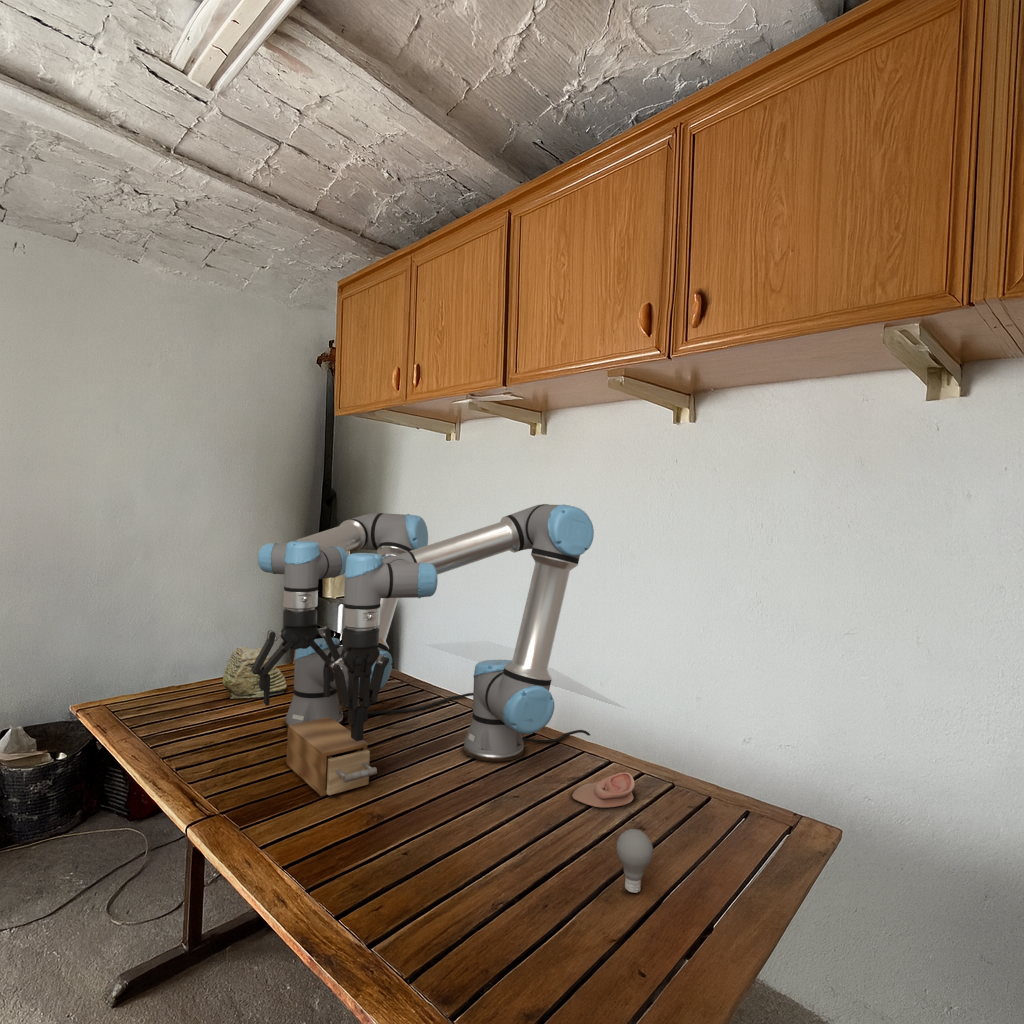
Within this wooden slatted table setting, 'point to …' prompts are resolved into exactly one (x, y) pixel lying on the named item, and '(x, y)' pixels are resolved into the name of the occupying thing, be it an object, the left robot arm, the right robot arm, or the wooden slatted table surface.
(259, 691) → the fossil
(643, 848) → the light bulb
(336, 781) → the drawer
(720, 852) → the wooden slatted table surface
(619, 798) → the anatomical model
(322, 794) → the cabinet
